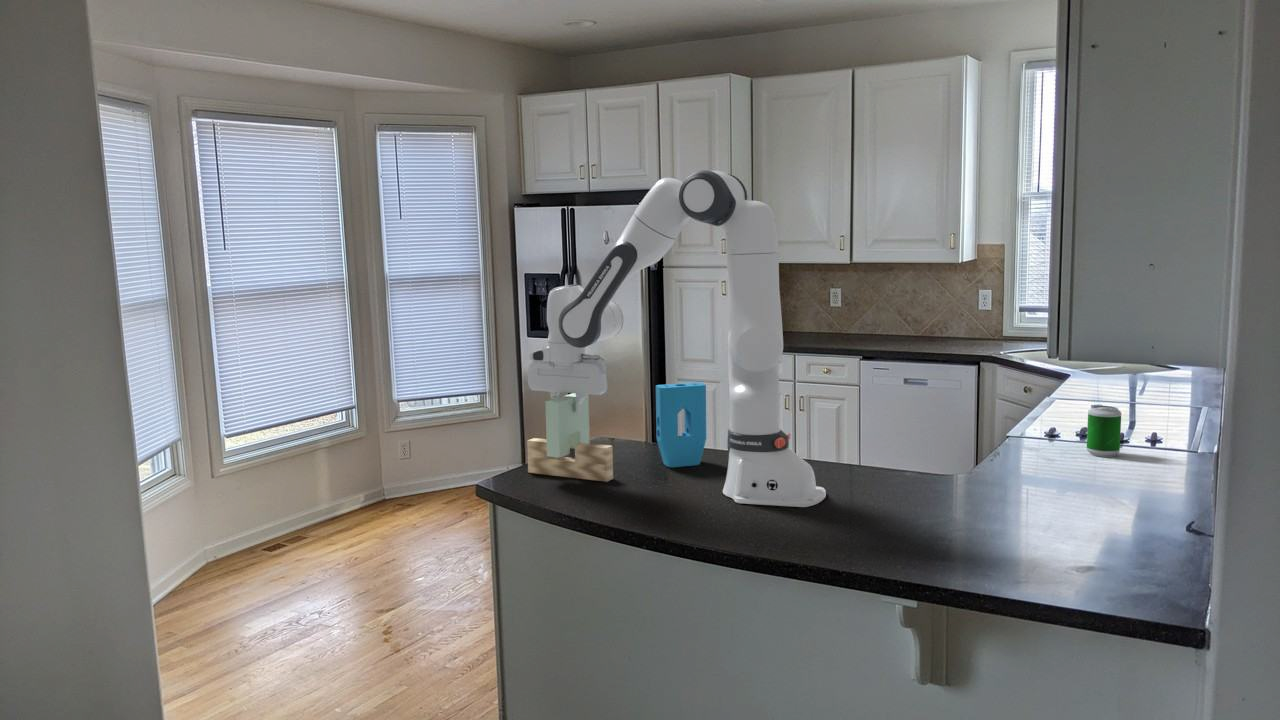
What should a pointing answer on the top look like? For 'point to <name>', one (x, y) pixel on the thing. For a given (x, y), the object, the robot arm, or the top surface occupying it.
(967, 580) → the top surface
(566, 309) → the robot arm
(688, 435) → the block
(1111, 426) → the soda can
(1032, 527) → the top surface
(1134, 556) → the top surface
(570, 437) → the sage plate
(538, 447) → the oak board
